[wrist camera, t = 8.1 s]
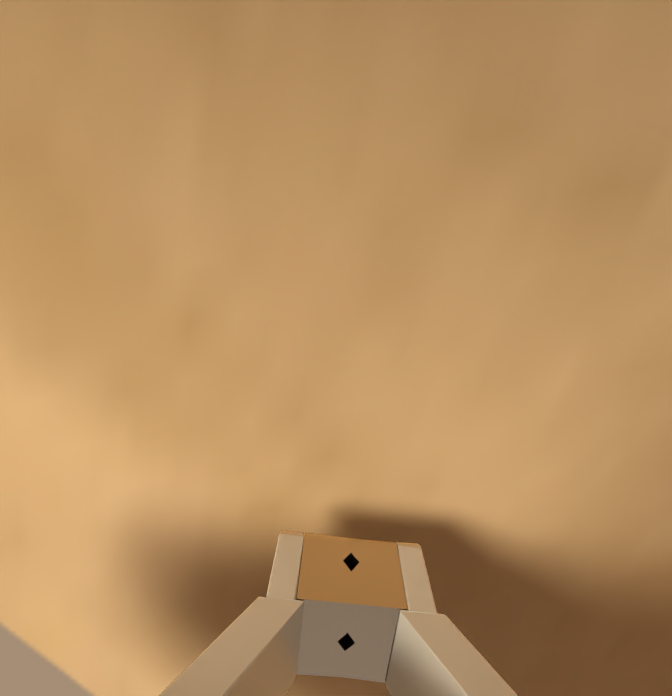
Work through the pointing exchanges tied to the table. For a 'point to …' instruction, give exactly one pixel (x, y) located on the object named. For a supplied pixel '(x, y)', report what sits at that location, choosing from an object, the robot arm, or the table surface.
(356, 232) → the table surface
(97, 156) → the table surface
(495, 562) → the table surface
